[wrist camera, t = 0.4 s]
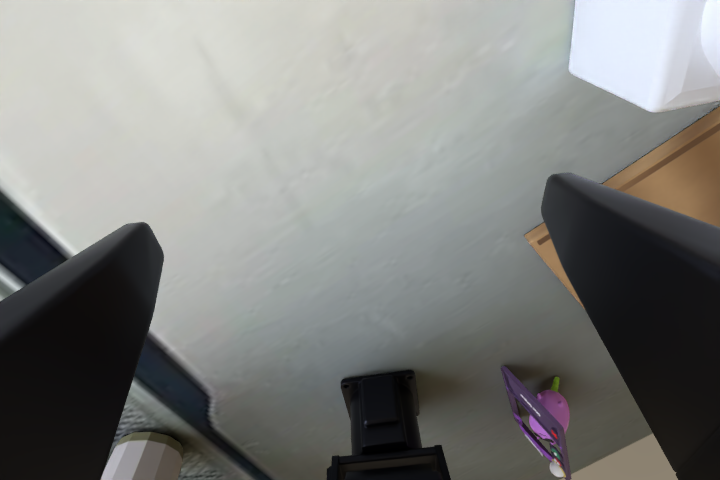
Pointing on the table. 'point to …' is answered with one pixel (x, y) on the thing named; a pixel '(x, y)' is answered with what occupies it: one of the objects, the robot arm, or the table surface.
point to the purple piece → (543, 420)
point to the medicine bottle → (649, 50)
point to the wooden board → (663, 183)
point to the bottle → (145, 458)
